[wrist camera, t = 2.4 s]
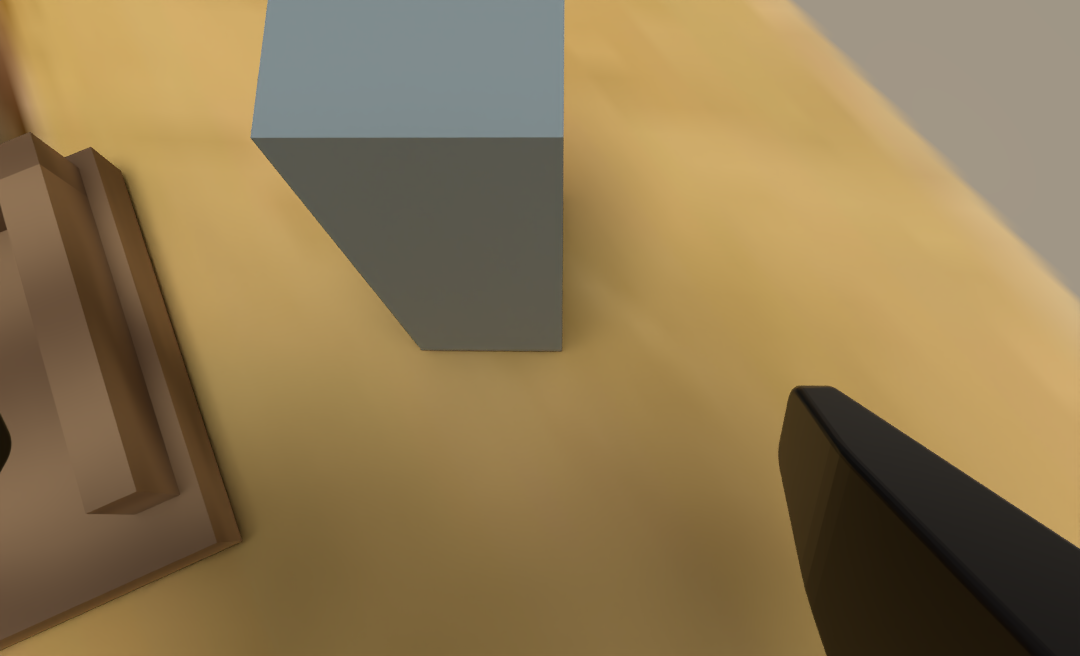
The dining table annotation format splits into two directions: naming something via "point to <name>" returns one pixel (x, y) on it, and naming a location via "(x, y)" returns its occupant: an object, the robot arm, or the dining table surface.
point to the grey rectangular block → (428, 155)
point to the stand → (90, 401)
